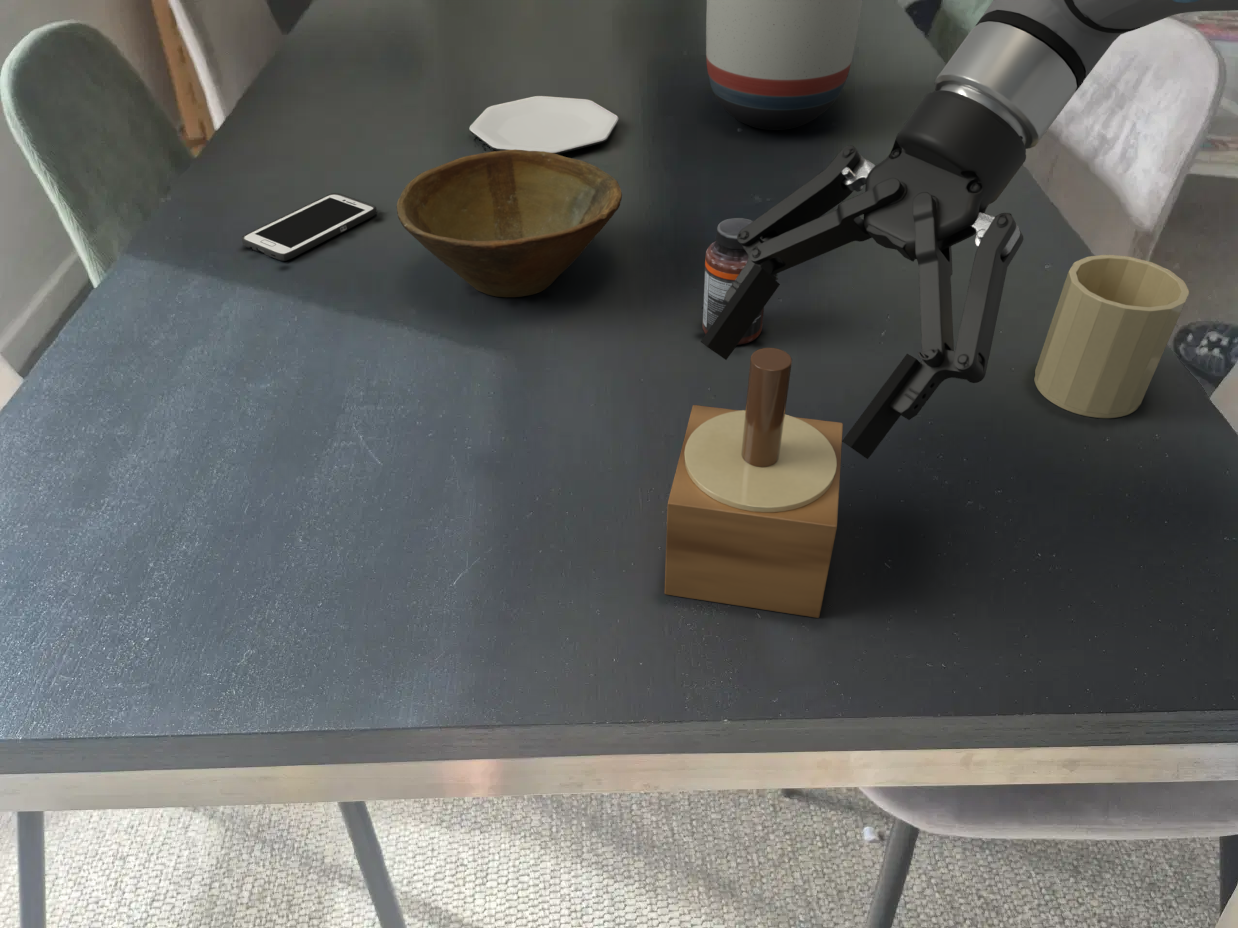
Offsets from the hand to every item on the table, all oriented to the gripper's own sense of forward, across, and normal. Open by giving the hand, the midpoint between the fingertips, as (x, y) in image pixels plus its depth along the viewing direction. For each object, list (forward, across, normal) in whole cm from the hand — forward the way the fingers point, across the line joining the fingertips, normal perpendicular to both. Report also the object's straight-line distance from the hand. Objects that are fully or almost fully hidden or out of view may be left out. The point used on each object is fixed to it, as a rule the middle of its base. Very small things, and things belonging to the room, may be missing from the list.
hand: (778, 398), depth 63 cm
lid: (+4, 0, -2) cm, 5 cm away
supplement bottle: (-2, +24, -22) cm, 33 cm away
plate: (-11, +78, -31) cm, 85 cm away
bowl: (+6, +46, -14) cm, 48 cm away
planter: (-31, +62, -51) cm, 86 cm away
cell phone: (+15, +70, -4) cm, 71 cm away
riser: (+11, 0, -9) cm, 14 cm away
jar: (-17, -3, -36) cm, 40 cm away
